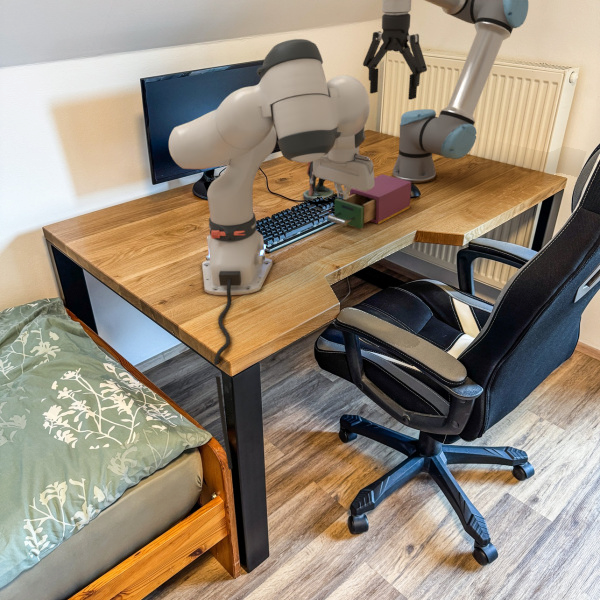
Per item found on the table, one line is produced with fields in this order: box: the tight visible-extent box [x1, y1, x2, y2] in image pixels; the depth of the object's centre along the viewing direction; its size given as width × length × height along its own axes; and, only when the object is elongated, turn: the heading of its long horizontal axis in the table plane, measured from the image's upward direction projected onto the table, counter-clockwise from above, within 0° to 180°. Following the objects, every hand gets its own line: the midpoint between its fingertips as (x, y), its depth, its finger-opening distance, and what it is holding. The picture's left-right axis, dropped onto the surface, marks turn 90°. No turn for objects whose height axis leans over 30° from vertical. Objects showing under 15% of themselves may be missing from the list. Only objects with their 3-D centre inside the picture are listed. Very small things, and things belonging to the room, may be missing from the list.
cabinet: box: [349, 173, 412, 225], centre depth 176 cm, size 16×11×9 cm
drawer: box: [327, 193, 376, 229], centre depth 169 cm, size 20×10×7 cm, turn 136°
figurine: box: [302, 161, 335, 202], centre depth 181 cm, size 11×11×30 cm
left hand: (343, 198), depth 162 cm, fingers closed
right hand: (392, 95), depth 162 cm, fingers open, 13 cm apart
